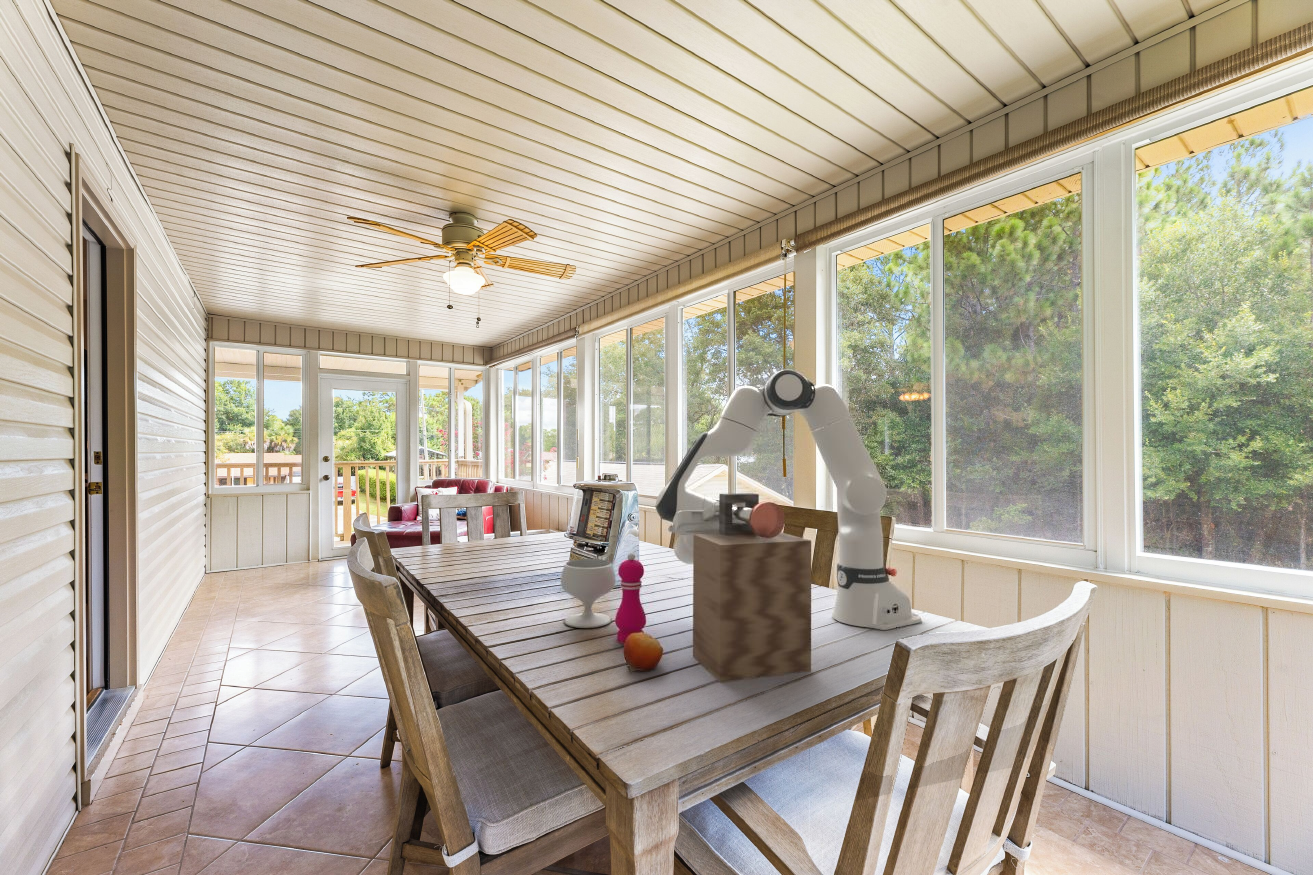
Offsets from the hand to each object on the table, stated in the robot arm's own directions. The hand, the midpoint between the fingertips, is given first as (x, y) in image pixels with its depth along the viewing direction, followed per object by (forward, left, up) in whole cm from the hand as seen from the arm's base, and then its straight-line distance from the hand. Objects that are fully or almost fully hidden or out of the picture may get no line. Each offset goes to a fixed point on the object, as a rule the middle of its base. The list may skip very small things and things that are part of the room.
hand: (725, 507), depth 128 cm
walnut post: (0, +12, -31) cm, 33 cm away
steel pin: (0, +8, -4) cm, 9 cm away
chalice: (+27, -25, -31) cm, 48 cm away
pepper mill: (+20, -9, -31) cm, 38 cm away
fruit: (+22, +8, -31) cm, 39 cm away
